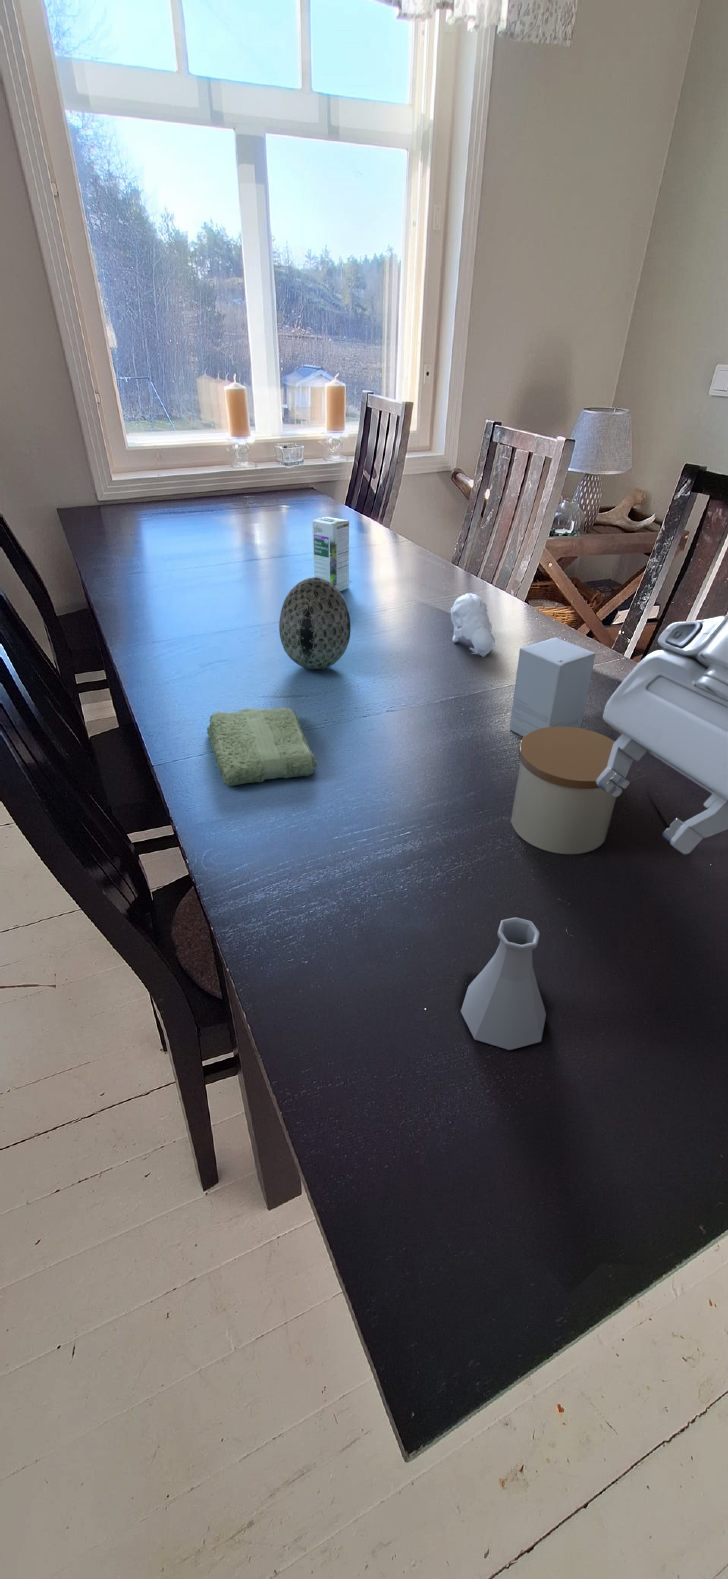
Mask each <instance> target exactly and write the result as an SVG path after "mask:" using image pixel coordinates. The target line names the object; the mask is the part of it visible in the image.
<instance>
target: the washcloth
mask: <svg viewBox="0 0 728 1579" xmlns="http://www.w3.org/2000/svg"><path fill="white" fill-rule="evenodd" d="M300 724H301V722H300V719H299V717H298V715H297V712H296V711H295V710H294V709H292V708H288V707H276V708H244V709H240V710H238V711H234V712H233V711H232V712H227V711H216V712H213V713H212V715H210V716H209V725H208V726H207V727H206V734H207V736H208V738H209V742H210V745H211V748H212V752H213V756H214V759H215V762H216V767H217V768H218V771H219V773H220V775H221V777H222V781H223V783H224V784H225V785H227V786H228V787H233V786H238V785H242V784H247V783H248V784H249V783H250V784H252V783H253V784H254V783H263V782H265V781H266V780H272V779H278V778H282V779H290V778H298V777H303V776H304V777H308V776H309V775H313V774H314V773H315V770H314V769H316V768H317V766H318V765H319V764H318V761H317V760H316V758H315V756H314V753H313V751H312V750H311V748H310V745H309V743H308V740H307V738H306V737H305V734H304V732H303V730H302V726H301V725H300Z"/></svg>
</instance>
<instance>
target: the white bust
mask: <svg viewBox="0 0 728 1579" xmlns="http://www.w3.org/2000/svg"><path fill="white" fill-rule="evenodd" d="M450 621H451V623H452V624H453V636H452V642H453V643H455V644H456V643H457V644H458V642H460V641H461V640H462V638H464V639H465V640H466V641H469V642H470V643H471V644H472V645H473V647H469V650H470V651H472V652H470V654H471V655H473V654H474V655H479V656H481V657H482V658H485V657H486V656H487V654H489V653H490V652H492V650H493V649H494V648H495V645H496V639H495V637H494V635H493V634H492V628H493V627H492V623H491V621H490V618H489V615H488V605H487V604H486V603H485V601H484V599H483V598H481V597H480V596H479V595H477V594H475V593H469V592H468V593H466V594H463V595H461V596H458V597H457V598H456V599H455V601H454V603H453V606H452V607H451V608H450Z"/></svg>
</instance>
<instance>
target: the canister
mask: <svg viewBox="0 0 728 1579" xmlns="http://www.w3.org/2000/svg"><path fill="white" fill-rule="evenodd" d="M615 741H616V740H613V739H612V738H610V737H609V736H606V735H604V734H602V733H599V732H597V731H595V730H590V729H586V728H582V727H581V728H576V727H566V726H554V727H546V728H541V729H537V730H535V731H532V732H530V733H529V734H527V735H526V736H525V737H522V739H521V740H520V743H519V748H518V758H519V764H518V772H517V778H516V784H515V790H514V795H513V796H514V797H513V803H512V809H511V814H510V822H511V826H512V829H514V832H515V833H516V834H517V836H519V837H520V838H521V839H522V840H524V841H525V842H526V843H528V844H529V845H531V846H532V847H533V846H534V848H537V849H540V850H543V851H546V852H550V853H554V854H560V855H580V854H586V853H589V852H592V851H594V850H597V848H599V847H601V845H603V844H604V842H605V841H606V839H607V837H608V836H607V835H608V832H609V828H610V825H611V821H612V817H613V812H614V810H615V805H616V802H617V798H618V797H613V796H611V795H610V794H608V793H607V792H606V791H604V790H603V789H602V788H600V787H599V786H598V785H597V784H596V780H597V778H598V777H599V776H600V775H601V773H602V772H603V771H604V770H605V769H606V767H607V766H608V765H607V764H608V760H609V757H610V753H611V750H612V747H613V744H614V743H615Z"/></svg>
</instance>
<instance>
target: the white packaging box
mask: <svg viewBox="0 0 728 1579" xmlns="http://www.w3.org/2000/svg"><path fill="white" fill-rule="evenodd" d="M596 654H597V653H596V652H595V651H592V650H588V649H586V648H583V647H581V646H578V645H576V644H575V643H571V642H569V641H567V640H564V639H561V638H559V637H557V636H555V637H552V638H548V639H546V640H542V641H538V642H536V643H532V644H530V645H529V644H528V645H526V646H522V647H519V653H518V661H517V668H516V676H515V683H514V689H513V690H514V691H513V697H512V705H511V714H510V720H509V728H508V729H509V730H510V731H512V732H514V733H516V734H517V735H519V736H521V737H522V738H524V737H525V736H526V735H527V734H529V733H530V732H532V731H535V730H537V729H541V728H546V727H554V726H566V727H576V728H582V725H583V719H584V714H585V710H586V704H587V699H588V695H589V690H590V684H591V680H592V674H593V669H594V666H595V665H594V664H595V659H596Z"/></svg>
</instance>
